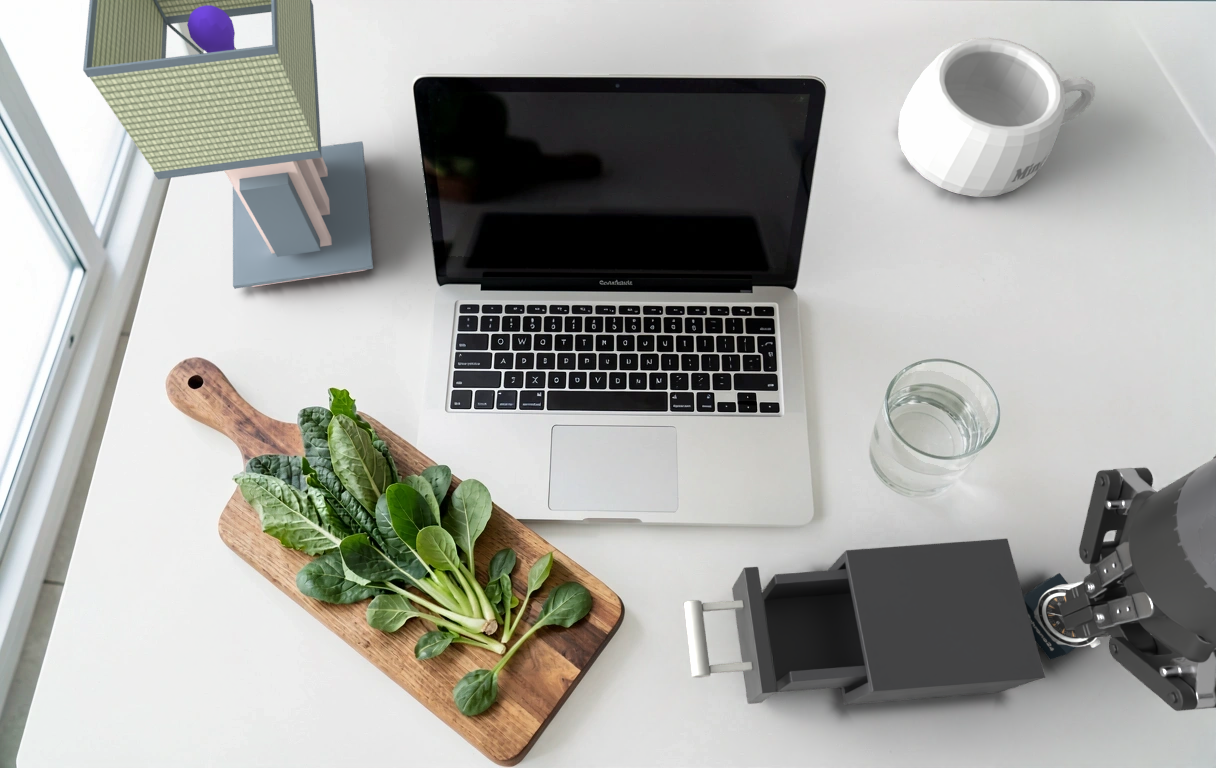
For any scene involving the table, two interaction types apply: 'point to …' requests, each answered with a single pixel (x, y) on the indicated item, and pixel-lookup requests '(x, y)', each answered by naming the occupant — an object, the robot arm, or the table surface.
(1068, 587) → the watch
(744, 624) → the drawer
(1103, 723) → the table surface
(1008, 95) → the mug
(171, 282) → the table surface
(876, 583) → the grey square sleeve
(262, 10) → the desk lamp
